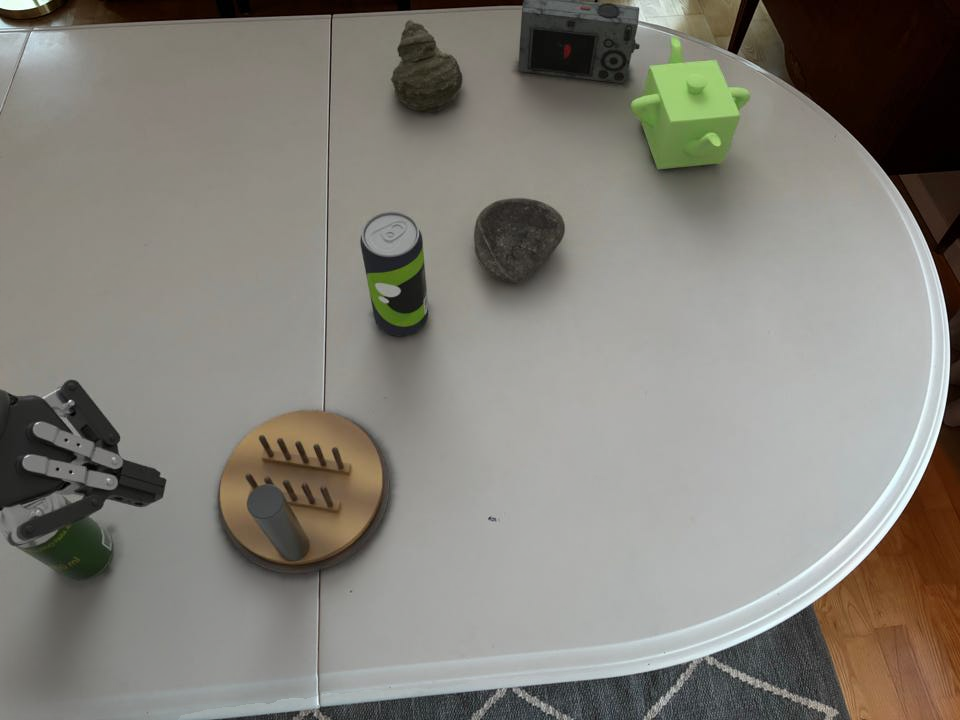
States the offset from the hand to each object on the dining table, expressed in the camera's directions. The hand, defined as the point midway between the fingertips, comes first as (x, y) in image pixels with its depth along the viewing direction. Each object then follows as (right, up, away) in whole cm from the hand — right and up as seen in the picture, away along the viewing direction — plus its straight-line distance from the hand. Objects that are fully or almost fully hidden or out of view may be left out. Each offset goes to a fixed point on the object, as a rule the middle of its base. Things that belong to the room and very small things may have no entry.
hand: (160, 491), depth 63 cm
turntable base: (+8, -3, +18) cm, 20 cm away
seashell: (+18, +46, +47) cm, 68 cm away
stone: (+30, +23, +34) cm, 51 cm away
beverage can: (+16, +15, +29) cm, 37 cm away
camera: (+39, +52, +51) cm, 82 cm away
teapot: (+52, +39, +43) cm, 78 cm away
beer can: (-13, -9, +14) cm, 21 cm away
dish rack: (+8, -2, +17) cm, 18 cm away
